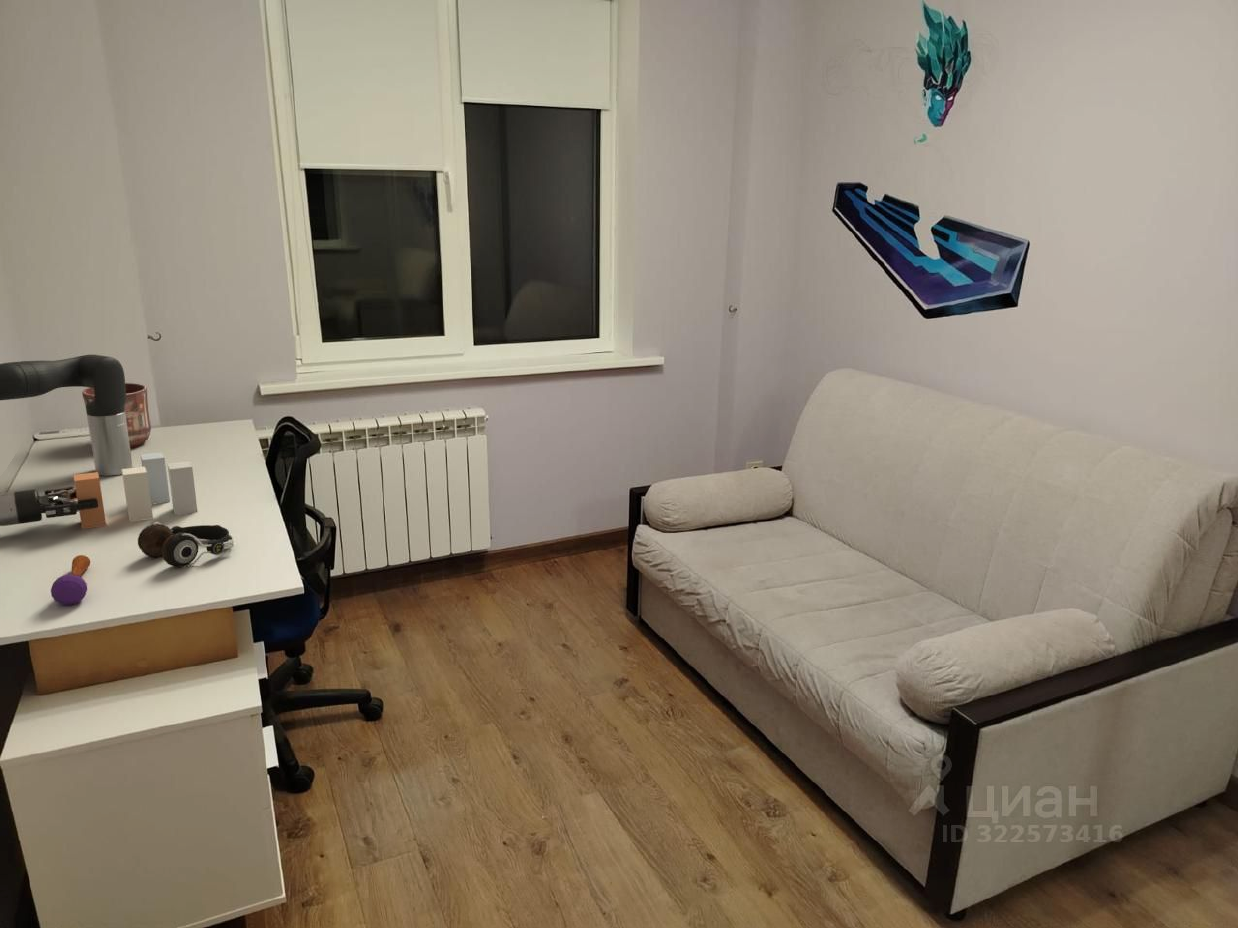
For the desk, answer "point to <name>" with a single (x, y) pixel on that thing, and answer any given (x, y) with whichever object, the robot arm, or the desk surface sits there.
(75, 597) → the purple maraca
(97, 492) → the rust block
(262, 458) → the desk surface
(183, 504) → the grey block
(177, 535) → the headset
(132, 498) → the cream block
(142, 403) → the pottery
